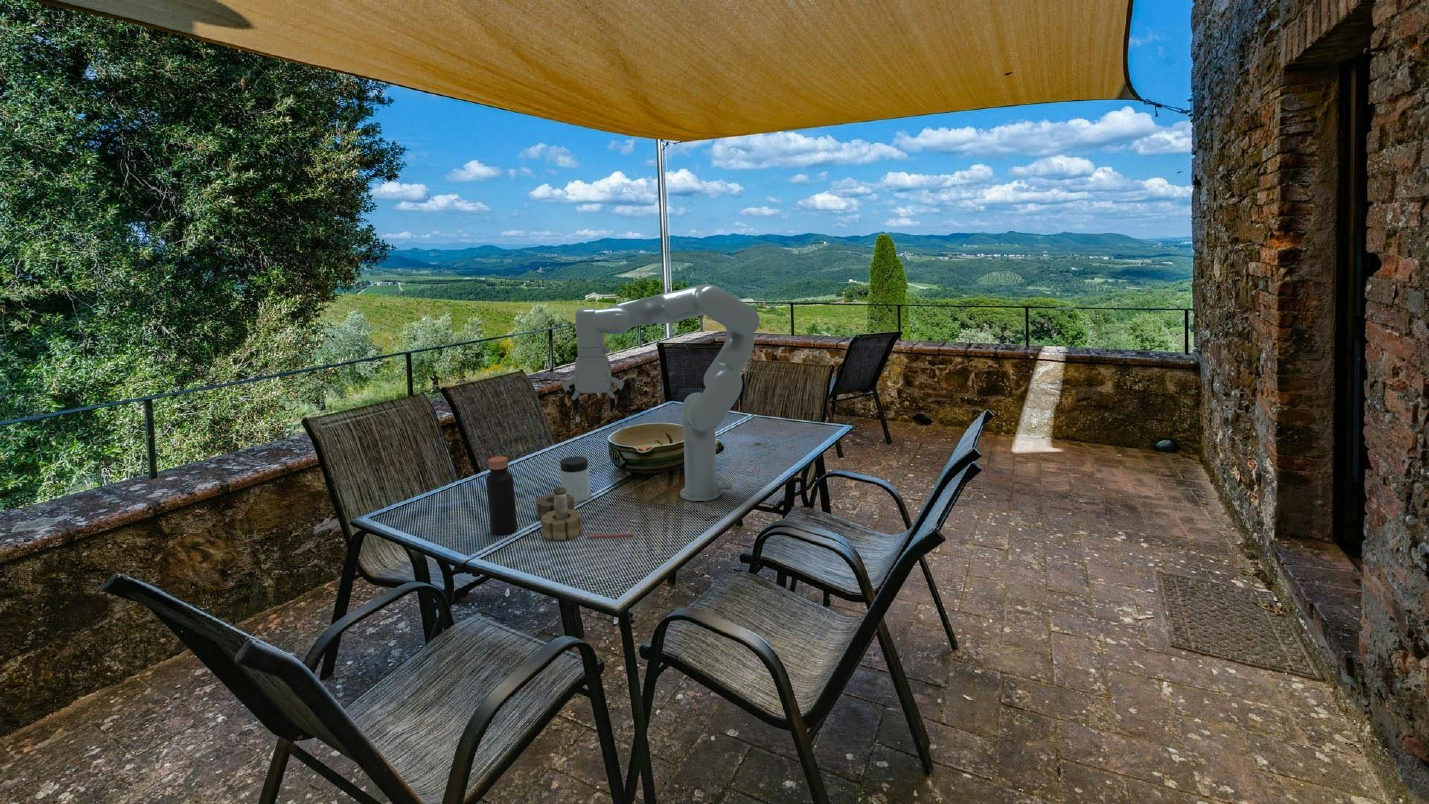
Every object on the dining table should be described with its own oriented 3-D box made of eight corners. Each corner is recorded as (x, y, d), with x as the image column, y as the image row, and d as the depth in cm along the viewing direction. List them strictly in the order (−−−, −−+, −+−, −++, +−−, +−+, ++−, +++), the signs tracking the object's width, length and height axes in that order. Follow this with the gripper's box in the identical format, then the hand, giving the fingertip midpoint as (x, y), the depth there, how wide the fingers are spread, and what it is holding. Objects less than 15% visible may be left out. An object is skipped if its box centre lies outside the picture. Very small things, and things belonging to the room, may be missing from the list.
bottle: (492, 537, 171) (485, 464, 167) (489, 528, 177) (483, 457, 173) (519, 532, 174) (512, 460, 170) (515, 523, 180) (509, 454, 176)
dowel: (569, 529, 175) (567, 487, 173) (568, 534, 172) (565, 491, 170) (557, 529, 175) (554, 487, 173) (555, 534, 172) (552, 491, 169)
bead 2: (584, 523, 179) (583, 508, 178) (579, 539, 169) (578, 522, 168) (547, 525, 178) (545, 510, 177) (540, 540, 168) (538, 524, 167)
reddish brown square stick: (633, 535, 171) (633, 533, 171) (633, 536, 170) (633, 534, 170) (587, 537, 170) (587, 535, 170) (587, 538, 169) (586, 536, 169)
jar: (567, 505, 193) (564, 466, 191) (557, 497, 200) (554, 459, 197) (595, 498, 198) (593, 460, 195) (584, 491, 205) (582, 454, 202)
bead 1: (568, 505, 193) (567, 491, 192) (577, 517, 184) (576, 501, 183) (534, 511, 188) (533, 497, 187) (541, 523, 179) (540, 508, 178)
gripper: (623, 349, 187) (626, 408, 191) (562, 351, 186) (566, 410, 190) (621, 353, 180) (624, 413, 183) (557, 355, 179) (562, 416, 182)
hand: (594, 411), depth 187 cm, fingers open, 9 cm apart
